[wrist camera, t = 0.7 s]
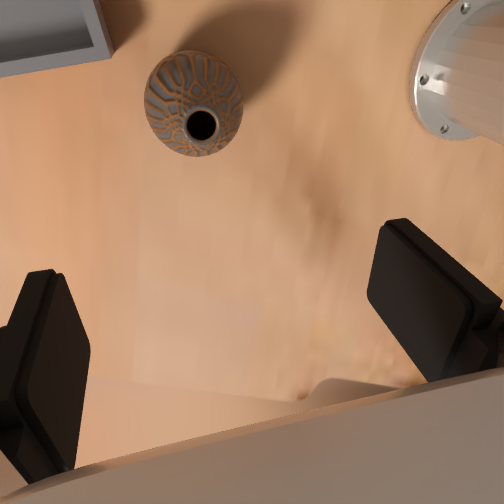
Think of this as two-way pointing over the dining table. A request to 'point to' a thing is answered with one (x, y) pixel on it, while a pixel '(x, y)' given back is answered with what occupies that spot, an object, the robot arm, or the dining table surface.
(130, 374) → the dining table surface
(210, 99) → the vase
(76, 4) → the tray
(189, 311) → the dining table surface
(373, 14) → the dining table surface
